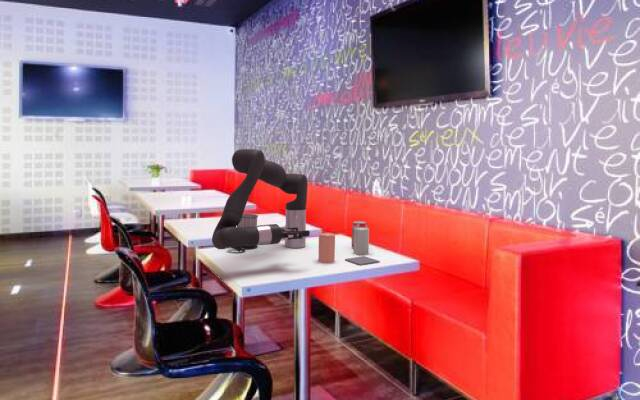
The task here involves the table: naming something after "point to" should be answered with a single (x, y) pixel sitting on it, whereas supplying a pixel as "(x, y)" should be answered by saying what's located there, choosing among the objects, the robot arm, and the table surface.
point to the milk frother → (246, 221)
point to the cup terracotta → (326, 247)
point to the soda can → (355, 224)
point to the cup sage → (361, 240)
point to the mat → (362, 260)
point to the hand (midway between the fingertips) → (303, 231)
